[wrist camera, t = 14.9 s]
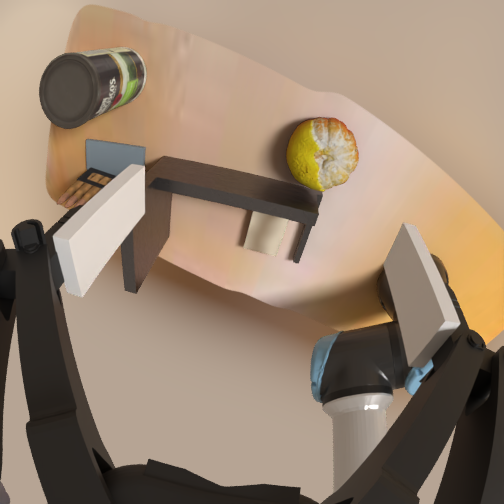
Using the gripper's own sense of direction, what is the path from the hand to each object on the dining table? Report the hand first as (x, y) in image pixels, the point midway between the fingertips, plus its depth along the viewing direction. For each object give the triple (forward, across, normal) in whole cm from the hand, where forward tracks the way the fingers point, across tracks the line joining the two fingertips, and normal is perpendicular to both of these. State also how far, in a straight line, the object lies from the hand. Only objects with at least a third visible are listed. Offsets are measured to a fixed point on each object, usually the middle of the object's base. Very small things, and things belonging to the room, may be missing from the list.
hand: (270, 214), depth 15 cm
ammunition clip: (+34, +28, +18) cm, 47 cm away
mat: (+34, +28, +18) cm, 47 cm away
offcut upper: (+34, -1, +21) cm, 40 cm away
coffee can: (+34, +27, -1) cm, 44 cm away
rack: (+34, +5, +21) cm, 40 cm away
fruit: (+34, -6, +6) cm, 35 cm away
